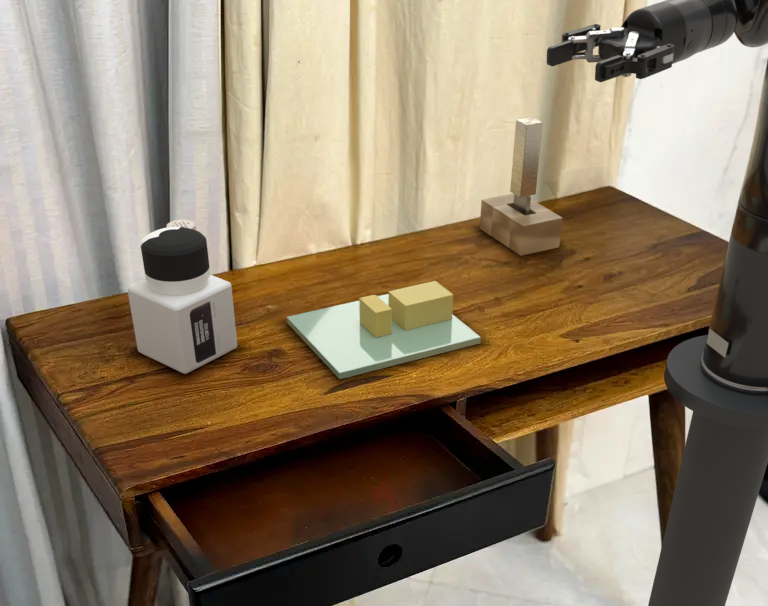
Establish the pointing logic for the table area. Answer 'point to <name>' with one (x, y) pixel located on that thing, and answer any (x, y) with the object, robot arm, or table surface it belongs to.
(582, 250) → the table surface
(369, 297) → the block
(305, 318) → the butter board
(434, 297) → the butter block
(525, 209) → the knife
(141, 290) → the container
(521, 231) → the knife stand
